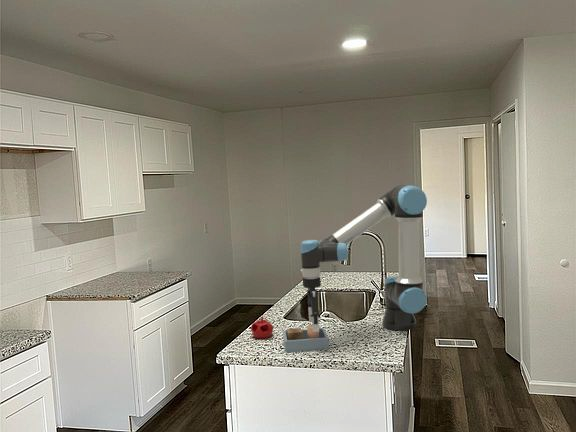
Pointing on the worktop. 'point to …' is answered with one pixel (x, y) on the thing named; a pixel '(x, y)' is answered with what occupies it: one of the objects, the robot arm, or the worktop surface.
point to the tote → (307, 342)
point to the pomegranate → (262, 328)
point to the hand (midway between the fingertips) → (314, 326)
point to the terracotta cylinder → (311, 333)
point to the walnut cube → (294, 334)
